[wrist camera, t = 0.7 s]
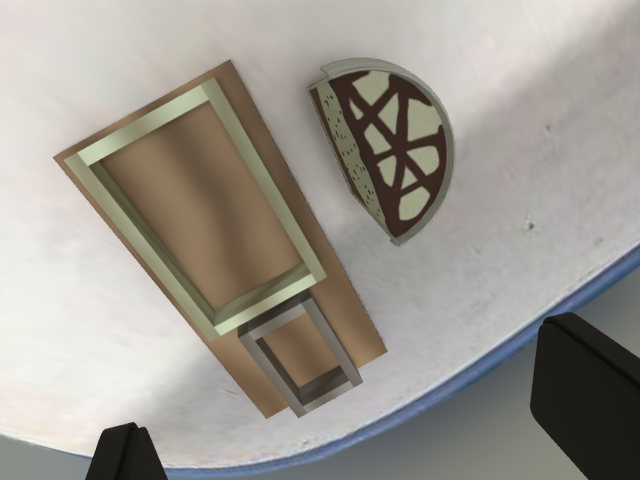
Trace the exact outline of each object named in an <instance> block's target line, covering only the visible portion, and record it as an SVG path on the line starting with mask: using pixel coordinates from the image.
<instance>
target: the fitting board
mask: <svg viewBox="0 0 640 480" xmlns="http://www.w3.org/2000/svg"><path fill="white" fill-rule="evenodd" d="M53 159H54V160H55V161H56V162H57V163H58V165H59V166H60V167H61V168H62V170H63V171H64V172H65V173H66V174H67V176H68V177H69V178H70V179H71V181H72V182H73V183H74V184H75V185H76V187H77V188H78V189H79V190H80V192H81V193H82V194H83V195H84V196H85V198H86V199H87V200H88V201H89V203H90V204H91V205H92V206H93V207H94V209H95V210H96V211H97V212H98V214H99V215H100V216H101V217H102V218H103V220H104V221H105V222H106V223H107V225H108V226H109V227H110V228H111V229H112V231H113V232H114V233H115V234H116V236H117V237H118V238H119V239H120V240H121V242H122V243H123V244H124V245H125V247H126V248H127V249H128V250H129V251H130V253H131V254H132V255H133V256H134V258H135V259H136V260H137V261H138V262H139V264H140V265H141V266H142V267H143V269H144V270H145V271H146V272H147V274H148V275H149V276H150V277H151V278H152V280H153V281H154V282H155V283H156V285H157V286H158V287H159V288H160V289H161V291H162V292H163V293H164V294H165V296H166V297H167V298H168V299H169V300H170V302H171V303H172V304H173V305H174V307H175V308H176V309H177V310H178V311H179V313H180V314H181V315H182V316H183V318H184V319H185V320H186V321H187V322H188V324H189V325H190V326H191V327H192V329H193V330H194V331H195V332H196V333H197V335H198V336H199V337H200V338H201V340H202V341H203V342H204V343H205V344H206V346H207V347H208V348H209V349H210V351H211V352H212V353H213V354H214V355H215V357H216V358H217V359H218V360H219V362H220V363H221V364H222V365H223V366H224V368H225V369H226V370H227V371H228V373H229V374H230V375H231V376H232V377H233V379H234V380H235V381H236V382H237V384H238V385H239V386H240V387H241V388H242V390H243V391H244V392H245V393H246V395H247V396H248V397H249V398H250V399H251V401H252V402H253V403H254V404H255V406H256V407H257V408H258V409H259V410H260V412H261V413H262V414H263V415H264V417H265V418H266V419H267V418H269V417H271V416H273V415H274V414H276V413H278V412H280V411H282V410H283V409H285V408H287V407H289V406H290V408H291V409H292V410H293V412H294V413H295V414H296V416H297V417H298V418H300V417H302V416H303V415H305V414H307V413H309V412H311V411H312V410H314V409H316V408H318V407H320V406H321V405H323V404H325V403H327V402H329V401H330V400H332V399H334V398H336V397H338V396H339V395H341V394H343V393H345V392H347V391H348V390H350V389H352V388H354V387H356V386H358V385H359V384H361V383H363V381H362V379H361V377H360V374H359V372H358V370H357V368H359V367H361V366H363V365H365V364H366V363H368V362H370V361H372V360H374V359H375V358H377V357H379V356H381V355H383V354H384V353H386V352H388V351H387V349H386V347H385V346H384V344H383V342H382V340H381V338H380V336H379V335H378V333H377V331H376V329H375V327H374V325H373V323H372V322H371V320H370V318H369V316H368V314H367V312H366V310H365V309H364V307H363V305H362V303H361V301H360V299H359V298H358V296H357V294H356V292H355V290H354V288H353V286H352V285H351V283H350V281H349V279H348V277H347V275H346V273H345V272H344V270H343V268H342V266H341V264H340V262H339V261H338V259H337V257H336V255H335V253H334V251H333V249H332V248H331V246H330V244H329V242H328V240H327V238H326V236H325V235H324V233H323V231H322V229H321V227H320V225H319V224H318V222H317V220H316V218H315V216H314V214H313V212H312V211H311V209H310V207H309V205H308V203H307V201H306V199H305V198H304V196H303V194H302V192H301V190H300V188H299V187H298V185H297V183H296V181H295V179H294V177H293V175H292V174H291V172H290V170H289V168H288V166H287V164H286V162H285V161H284V159H283V157H282V155H281V153H280V151H279V150H278V148H277V146H276V144H275V142H274V140H273V138H272V137H271V135H270V133H269V131H268V129H267V127H266V125H265V124H264V122H263V120H262V118H261V116H260V114H259V113H258V111H257V109H256V107H255V105H254V103H253V101H252V100H251V98H250V96H249V94H248V92H247V90H246V88H245V87H244V85H243V83H242V81H241V79H240V77H239V76H238V74H237V72H236V70H235V68H234V66H233V64H232V63H231V61H230V60H228V61H227V62H225V63H223V64H221V65H219V66H217V67H216V68H214V69H212V70H210V71H208V72H207V73H205V74H203V75H201V76H199V77H197V78H196V79H194V80H192V81H190V82H188V83H187V84H185V85H183V86H181V87H179V88H177V89H176V90H174V91H172V92H170V93H168V94H167V95H165V96H163V97H161V98H159V99H158V100H156V101H154V102H152V103H150V104H148V105H147V106H145V107H143V108H141V109H139V110H138V111H136V112H134V113H132V114H130V115H128V116H127V117H125V118H123V119H121V120H119V121H118V122H116V123H114V124H112V125H110V126H108V127H107V128H105V129H103V130H101V131H99V132H98V133H96V134H94V135H92V136H90V137H88V138H87V139H85V140H83V141H81V142H79V143H78V144H76V145H74V146H72V147H70V148H68V149H67V150H65V151H63V152H61V153H59V154H58V155H56V156H54V157H53Z"/></svg>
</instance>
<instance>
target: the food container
mask: <svg viewBox="0 0 640 480" xmlns="http://www.w3.org/2000/svg"><path fill="white" fill-rule="evenodd" d="M320 69H321V70H322V71H323V72H325V73H326V74H328V77H327V78H325V79H323V80H321V81H319V82H317V83H316V84H314V85H312V86H310V87H308V88H306V89H307V91H308V94H309V96H310V98H311V101H312V103H313V105H314V108H315V110H316V112H317V115H318V117H319V119H320V122H321V124H322V126H323V129H324V131H325V133H326V136H327V138H328V140H329V143H330V145H331V147H332V150H333V152H334V154H335V157H336V159H337V161H338V164H339V166H340V168H341V171H342V173H343V175H344V178H345V180H346V182H347V185H348V187H349V189H350V192H351V194H352V195H353V196H354V197H355V198H356V199H357V200H358V202H359V203H360V204H361V205H362V206H363V207H364V208H365V209H366V211H367V212H368V213H369V214H370V215H371V216H372V217H373V218H374V220H375V221H376V222H377V223H378V224H379V225H380V226H381V227H382V229H383V230H384V231H385V232H386V233H387V234H388V235H389V236H390V238H391V240H390V242H391V243H393V244H394V245H396V246H399V247H401V246H402V245H404V244H406V243H407V242H409V241H410V240H412V239H413V238H414V237H415V236H417V235H418V234H419V233H421V232H422V231H423V230H424V229H425V227H426V226H427V225H428V224H429V223H430V222H431V221H432V220H433V218H434V217H435V216H436V214H437V213H438V212H439V210H440V208H441V207H442V205H443V203H444V201H445V199H446V197H447V195H448V192H449V190H450V187H451V184H452V180H453V176H454V172H455V163H456V144H455V138H454V133H453V128H452V125H451V123H450V120H449V117H448V114H447V112H446V110H445V108H444V106H443V105H442V103H441V101H440V99H439V98H438V97H437V95H436V94H435V93H434V92H433V91H432V89H431V88H430V87H429V86H428V85H427V84H425V83H424V82H423V81H422V80H421V79H419V78H418V77H417V76H415V75H414V74H412V73H410V72H409V71H407V70H405V69H403V68H401V67H400V66H398V65H395V64H392V63H390V62H387V61H384V60H378V59H372V58H350V59H345V60H340V61H336V62H333V63H330V64H328V65H325V66H322V67H320Z"/></svg>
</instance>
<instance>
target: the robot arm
mask: <svg viewBox="0 0 640 480" xmlns="http://www.w3.org/2000/svg"><path fill="white" fill-rule="evenodd" d="M530 409H531V412H532V415H533V417H534V418H535V420H536V421H537V422H538V424H539V425H540V426H541V427H542V428H543V429H544V430H545V431H546V432H547V434H548V435H549V436H550V437H551V438H552V439H553V440H554V441H555V443H556V444H557V445H558V446H559V447H560V448H561V449H562V450H563V452H564V453H565V454H566V455H567V456H568V457H569V458H570V459H571V461H572V462H573V463H574V464H575V465H576V466H577V467H578V468H579V469H580V471H581V472H582V473H583V474H584V475H585V476H586V477H587V479H588V480H640V358H638V357H637V356H635V355H634V354H633V353H631V352H630V351H628V350H627V349H625V348H624V347H622V346H621V345H620V344H618V343H617V342H615V341H614V340H612V339H611V338H609V337H608V336H607V335H605V334H603V333H602V332H601V331H599V330H598V329H596V328H595V327H593V326H592V325H591V324H589V323H588V322H586V321H585V320H583V319H582V318H580V317H579V316H577V315H576V314H574V313H572V312H566V313H562V314H558V315H554V316H550V317H547V318H545V320H544V321H543V325H541V326H540V327H539V331H538V340H537V350H536V358H535V366H534V375H533V384H532V394H531V402H530ZM85 480H168V479H167V476H166V474H165V471H164V469H163V467H162V464H161V462H160V459H159V457H158V455H157V452H156V450H155V447H154V445H153V443H152V440H151V438H150V435H149V433H148V431H147V429H146V428H145V427H141V428H138V426H137V425H136V424H135V423H134V422H131V423H127V424H124V425H120V426H116V427H112V428H108V429H105V430H104V431H103V432H102V434H101V436H100V439H99V441H98V444H97V447H96V450H95V453H94V456H93V459H92V462H91V465H90V467H89V470H88V473H87V476H86V479H85Z"/></svg>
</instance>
